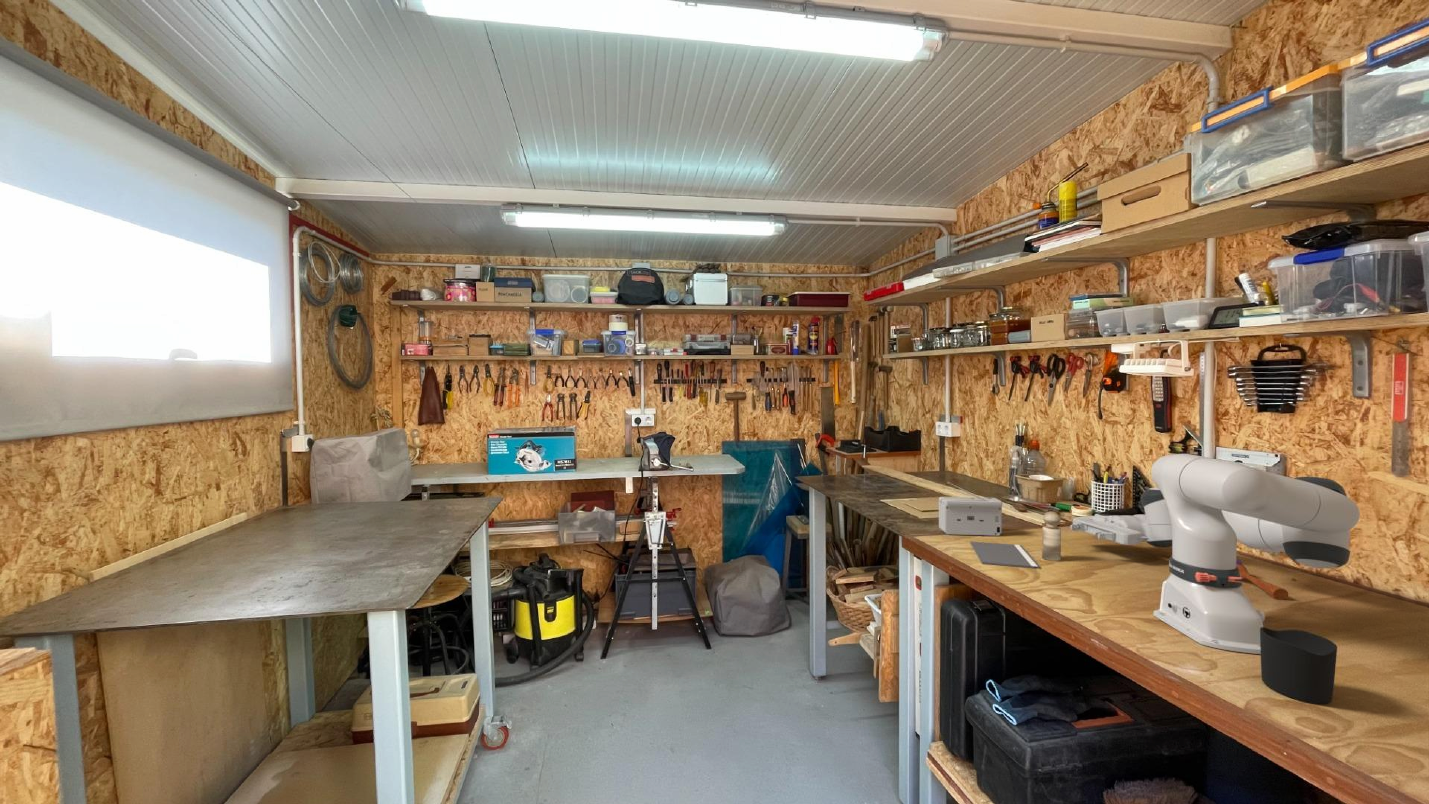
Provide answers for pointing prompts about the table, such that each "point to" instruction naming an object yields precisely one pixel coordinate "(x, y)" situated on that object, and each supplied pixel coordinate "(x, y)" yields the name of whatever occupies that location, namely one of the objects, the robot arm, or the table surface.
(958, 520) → the stereo radio cassette player
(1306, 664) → the pen holder
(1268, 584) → the kendama
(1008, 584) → the table surface
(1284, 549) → the robot arm
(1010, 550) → the mat
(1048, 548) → the skittle
